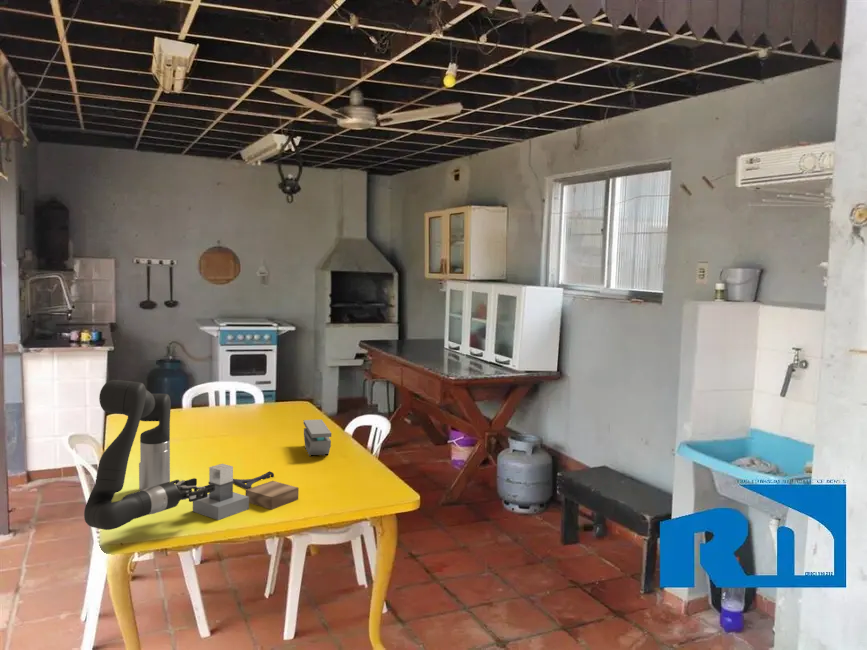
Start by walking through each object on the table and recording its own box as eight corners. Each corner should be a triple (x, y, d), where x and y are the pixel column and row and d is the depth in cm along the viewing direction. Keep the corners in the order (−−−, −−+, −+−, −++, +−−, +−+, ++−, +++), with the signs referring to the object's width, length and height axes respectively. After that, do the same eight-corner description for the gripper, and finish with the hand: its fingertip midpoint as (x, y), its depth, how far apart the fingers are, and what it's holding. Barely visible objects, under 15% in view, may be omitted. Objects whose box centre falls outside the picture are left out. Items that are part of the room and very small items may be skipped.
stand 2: (245, 501, 223) (245, 489, 223) (272, 492, 233) (272, 480, 233) (271, 509, 217) (271, 497, 216) (298, 499, 227) (298, 487, 226)
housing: (208, 498, 213) (208, 467, 213) (222, 493, 218) (222, 463, 217) (219, 502, 211) (220, 470, 210) (233, 497, 215) (233, 466, 214)
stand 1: (192, 511, 213) (192, 499, 212) (223, 501, 223) (223, 489, 223) (218, 520, 206) (218, 507, 206) (248, 509, 216) (248, 496, 216)
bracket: (284, 483, 245) (284, 475, 245) (247, 491, 235) (247, 483, 234) (262, 474, 255) (262, 466, 255) (226, 482, 245) (226, 474, 244)
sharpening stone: (331, 459, 274) (331, 433, 273) (311, 460, 272) (311, 434, 271) (321, 443, 298) (321, 419, 297) (303, 444, 295) (303, 420, 295)
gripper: (173, 490, 191) (220, 476, 204) (143, 480, 199) (190, 467, 212) (174, 516, 192) (220, 501, 205) (143, 505, 199) (190, 491, 213)
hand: (204, 484), depth 209 cm, fingers open, 8 cm apart
